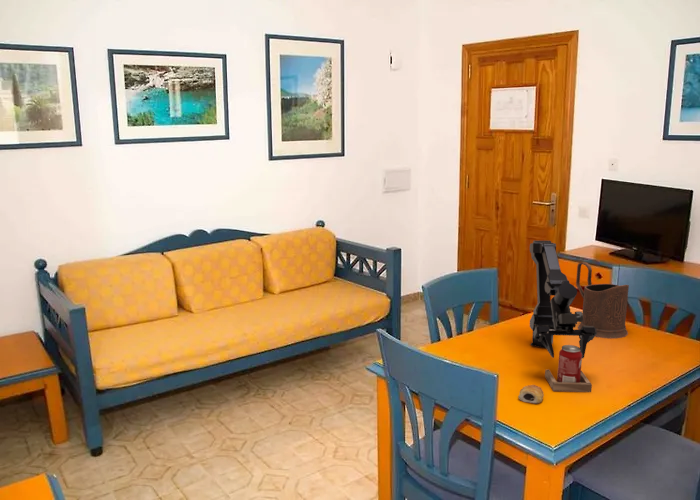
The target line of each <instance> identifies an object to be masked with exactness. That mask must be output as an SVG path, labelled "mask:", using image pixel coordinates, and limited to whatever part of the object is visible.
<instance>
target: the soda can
mask: <svg viewBox="0 0 700 500" xmlns="http://www.w3.org/2000/svg"><path fill="white" fill-rule="evenodd" d="M582 361H583V358H582V353H581V352H580V346H577V345H572V344H565V345H562V346H561V349H560V351H559V352H558V366H557V379H556V381H557V382H572V383H580V376H581V371H582V363H583V362H582Z"/></svg>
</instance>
